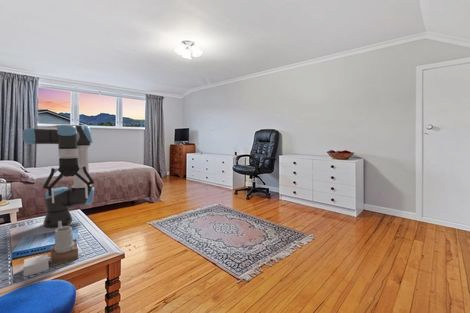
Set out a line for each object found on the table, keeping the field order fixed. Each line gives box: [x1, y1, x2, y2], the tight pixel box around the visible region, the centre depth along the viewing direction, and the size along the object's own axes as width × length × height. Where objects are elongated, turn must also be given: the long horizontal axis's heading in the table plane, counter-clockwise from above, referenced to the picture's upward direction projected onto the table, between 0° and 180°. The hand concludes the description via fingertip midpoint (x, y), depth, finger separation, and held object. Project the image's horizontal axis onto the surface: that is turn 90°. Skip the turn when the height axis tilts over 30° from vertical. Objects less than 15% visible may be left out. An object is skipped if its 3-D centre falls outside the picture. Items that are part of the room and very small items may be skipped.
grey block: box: [22, 253, 50, 277], centre depth 101 cm, size 8×8×4 cm
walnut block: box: [49, 240, 79, 267], centre depth 111 cm, size 10×10×5 cm
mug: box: [53, 221, 74, 253], centre depth 110 cm, size 8×12×12 cm, turn 50°
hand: (70, 200), depth 115 cm, fingers open, 13 cm apart
